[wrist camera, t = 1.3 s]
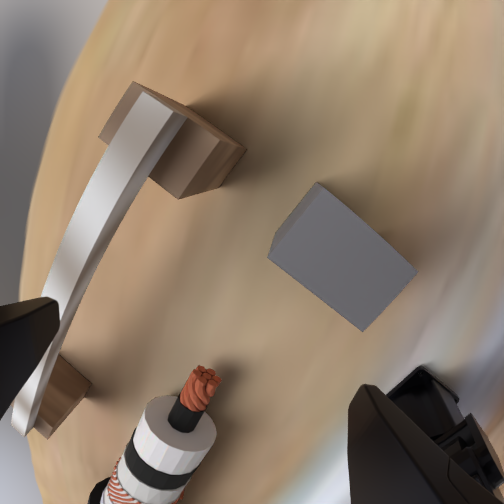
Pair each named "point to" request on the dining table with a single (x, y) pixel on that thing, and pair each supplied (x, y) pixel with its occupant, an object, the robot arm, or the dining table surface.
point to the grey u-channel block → (340, 258)
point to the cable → (164, 447)
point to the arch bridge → (108, 220)
